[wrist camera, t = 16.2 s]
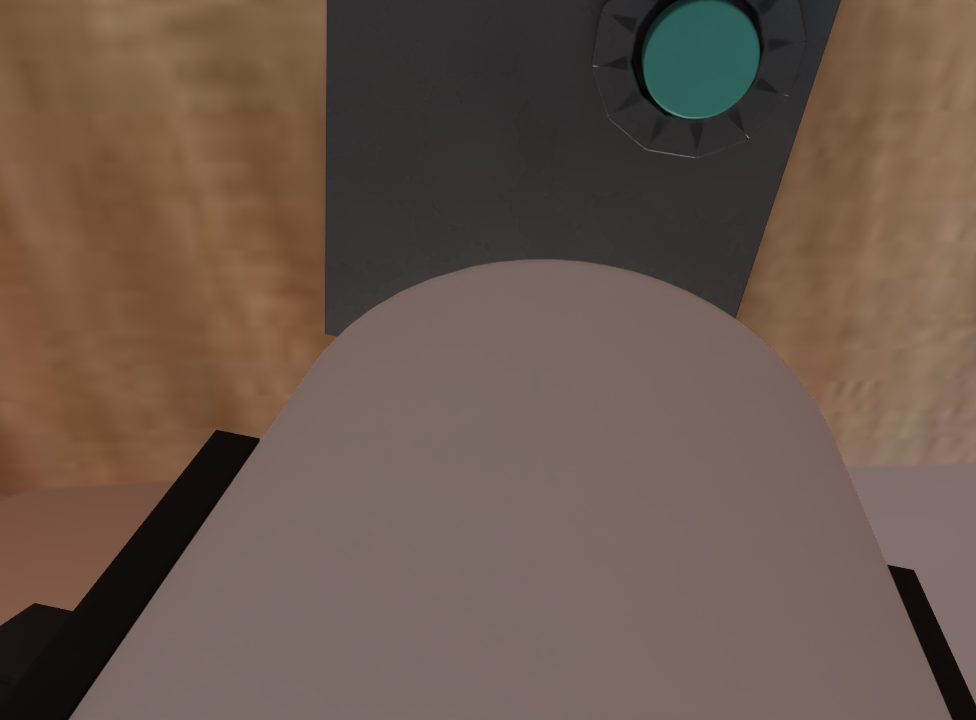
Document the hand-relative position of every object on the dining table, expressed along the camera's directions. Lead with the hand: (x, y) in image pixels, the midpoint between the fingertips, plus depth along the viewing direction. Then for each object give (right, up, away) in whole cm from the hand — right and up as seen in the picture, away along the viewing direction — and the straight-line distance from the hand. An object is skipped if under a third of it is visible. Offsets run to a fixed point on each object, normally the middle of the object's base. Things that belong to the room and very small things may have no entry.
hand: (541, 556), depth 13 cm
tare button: (+5, +13, +10) cm, 17 cm away
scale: (+1, +10, +15) cm, 18 cm away
